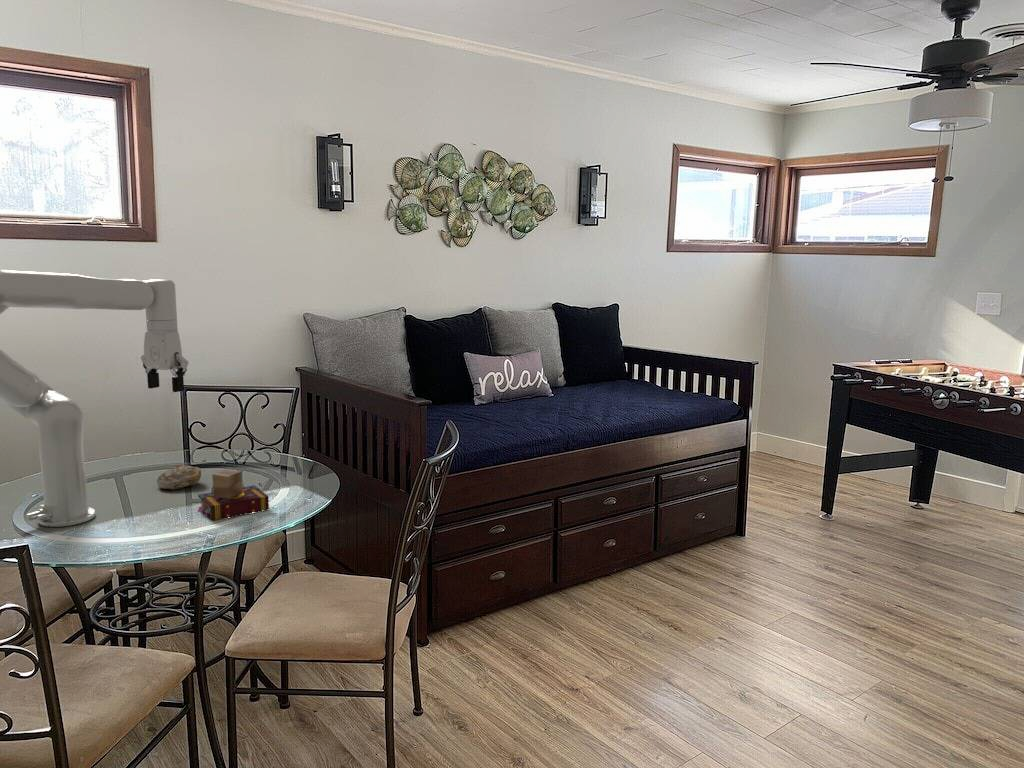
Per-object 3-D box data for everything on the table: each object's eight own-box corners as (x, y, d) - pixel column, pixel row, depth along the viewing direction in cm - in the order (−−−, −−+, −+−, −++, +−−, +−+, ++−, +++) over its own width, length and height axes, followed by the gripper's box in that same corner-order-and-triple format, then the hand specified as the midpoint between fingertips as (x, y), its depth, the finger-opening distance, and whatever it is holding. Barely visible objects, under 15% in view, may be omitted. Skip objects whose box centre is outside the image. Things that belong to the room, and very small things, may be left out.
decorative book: (269, 511, 208) (269, 493, 207) (207, 523, 198) (206, 504, 198) (255, 500, 217) (254, 483, 216) (194, 511, 207) (193, 493, 207)
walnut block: (228, 499, 202) (227, 476, 201) (213, 496, 204) (212, 474, 203) (242, 493, 207) (241, 471, 206) (227, 491, 209) (226, 469, 208)
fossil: (161, 493, 220) (149, 464, 223) (166, 505, 227) (153, 476, 230) (204, 476, 225) (191, 447, 229) (207, 488, 232) (194, 460, 236)
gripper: (128, 325, 210) (132, 388, 213) (172, 329, 202) (176, 395, 205) (152, 323, 216) (156, 384, 219) (196, 327, 208) (199, 390, 211)
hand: (166, 389), depth 212 cm, fingers open, 9 cm apart
